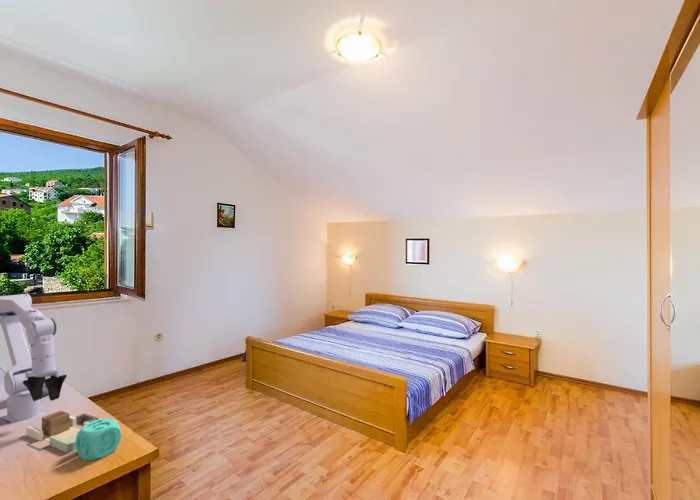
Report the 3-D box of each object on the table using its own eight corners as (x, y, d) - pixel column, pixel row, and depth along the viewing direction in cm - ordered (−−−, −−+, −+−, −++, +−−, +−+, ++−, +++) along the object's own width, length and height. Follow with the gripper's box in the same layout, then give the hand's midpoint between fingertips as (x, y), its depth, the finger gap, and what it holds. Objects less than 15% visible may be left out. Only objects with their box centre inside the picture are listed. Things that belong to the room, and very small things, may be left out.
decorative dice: (105, 441, 105) (105, 415, 105) (121, 448, 102) (121, 421, 102) (75, 456, 98) (75, 428, 98) (91, 464, 95) (91, 435, 95)
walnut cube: (41, 433, 108) (41, 417, 108) (60, 425, 113) (60, 410, 113) (50, 437, 106) (50, 420, 106) (69, 429, 111) (69, 413, 111)
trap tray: (14, 441, 104) (14, 431, 104) (73, 418, 119) (73, 409, 119) (57, 460, 96) (57, 450, 96) (115, 432, 110) (115, 423, 110)
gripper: (12, 361, 110) (15, 404, 110) (45, 359, 107) (48, 404, 106) (38, 355, 117) (40, 396, 116) (69, 353, 113) (72, 395, 113)
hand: (46, 399), depth 112 cm, fingers open, 7 cm apart
